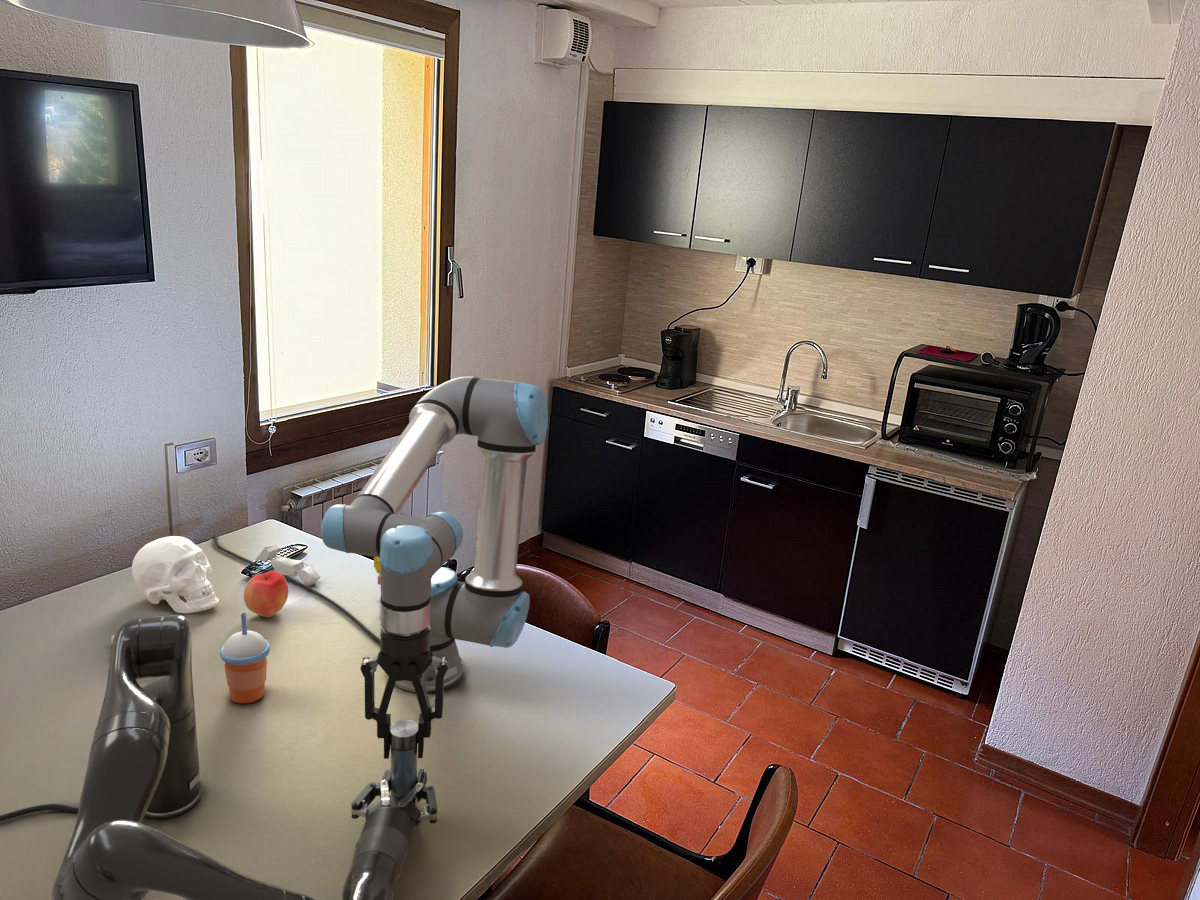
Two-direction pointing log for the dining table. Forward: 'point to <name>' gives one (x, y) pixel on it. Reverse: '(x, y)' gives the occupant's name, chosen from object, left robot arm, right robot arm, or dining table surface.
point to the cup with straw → (245, 664)
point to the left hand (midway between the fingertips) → (407, 772)
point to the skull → (174, 574)
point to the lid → (403, 734)
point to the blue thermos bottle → (403, 770)
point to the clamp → (288, 565)
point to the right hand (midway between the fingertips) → (404, 752)
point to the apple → (266, 593)
